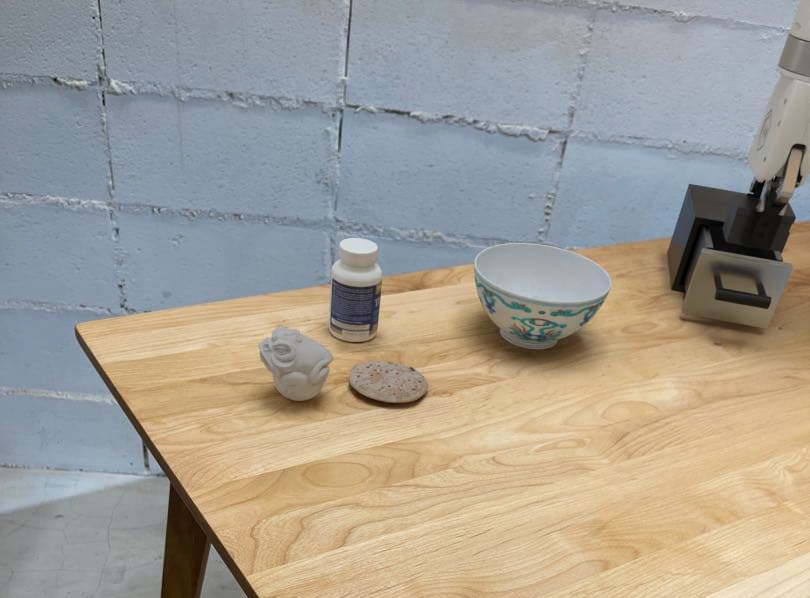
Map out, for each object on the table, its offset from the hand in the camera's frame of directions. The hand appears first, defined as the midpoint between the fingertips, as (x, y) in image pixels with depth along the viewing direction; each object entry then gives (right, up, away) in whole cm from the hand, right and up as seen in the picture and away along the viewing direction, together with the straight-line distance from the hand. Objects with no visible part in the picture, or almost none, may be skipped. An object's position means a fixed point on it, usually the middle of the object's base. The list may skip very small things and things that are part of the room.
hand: (752, 237), depth 96 cm
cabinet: (+2, +1, +18) cm, 18 cm away
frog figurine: (-51, -21, -15) cm, 57 cm away
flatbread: (-42, -20, -12) cm, 48 cm away
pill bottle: (-46, -12, -4) cm, 48 cm away
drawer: (0, -6, +8) cm, 10 cm away
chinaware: (-26, -12, 0) cm, 28 cm away
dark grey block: (0, 0, 0) cm, 0 cm away
